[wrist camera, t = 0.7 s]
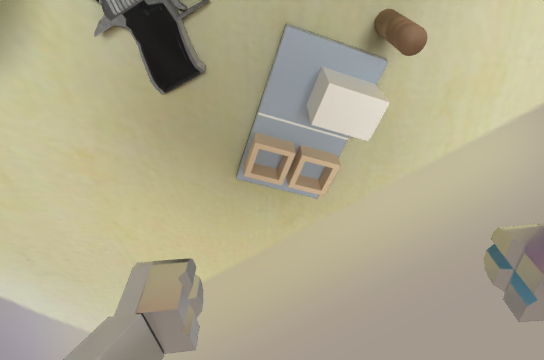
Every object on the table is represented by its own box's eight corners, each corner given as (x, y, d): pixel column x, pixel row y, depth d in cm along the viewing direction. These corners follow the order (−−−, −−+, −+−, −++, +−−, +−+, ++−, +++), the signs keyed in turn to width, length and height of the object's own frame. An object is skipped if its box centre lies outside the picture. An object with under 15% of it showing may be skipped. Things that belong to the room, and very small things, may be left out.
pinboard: (286, 23, 43) (288, 32, 39) (384, 58, 45) (395, 69, 42) (237, 173, 56) (235, 190, 52) (315, 193, 59) (319, 210, 55)
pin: (382, 5, 42) (407, 21, 34) (403, 13, 42) (433, 31, 35) (370, 30, 43) (392, 50, 36) (391, 37, 44) (417, 59, 37)
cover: (322, 66, 44) (329, 83, 40) (376, 84, 46) (390, 102, 41) (306, 104, 47) (311, 124, 43) (357, 120, 49) (368, 141, 44)
